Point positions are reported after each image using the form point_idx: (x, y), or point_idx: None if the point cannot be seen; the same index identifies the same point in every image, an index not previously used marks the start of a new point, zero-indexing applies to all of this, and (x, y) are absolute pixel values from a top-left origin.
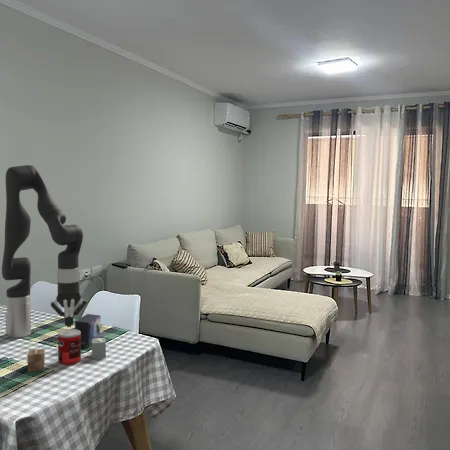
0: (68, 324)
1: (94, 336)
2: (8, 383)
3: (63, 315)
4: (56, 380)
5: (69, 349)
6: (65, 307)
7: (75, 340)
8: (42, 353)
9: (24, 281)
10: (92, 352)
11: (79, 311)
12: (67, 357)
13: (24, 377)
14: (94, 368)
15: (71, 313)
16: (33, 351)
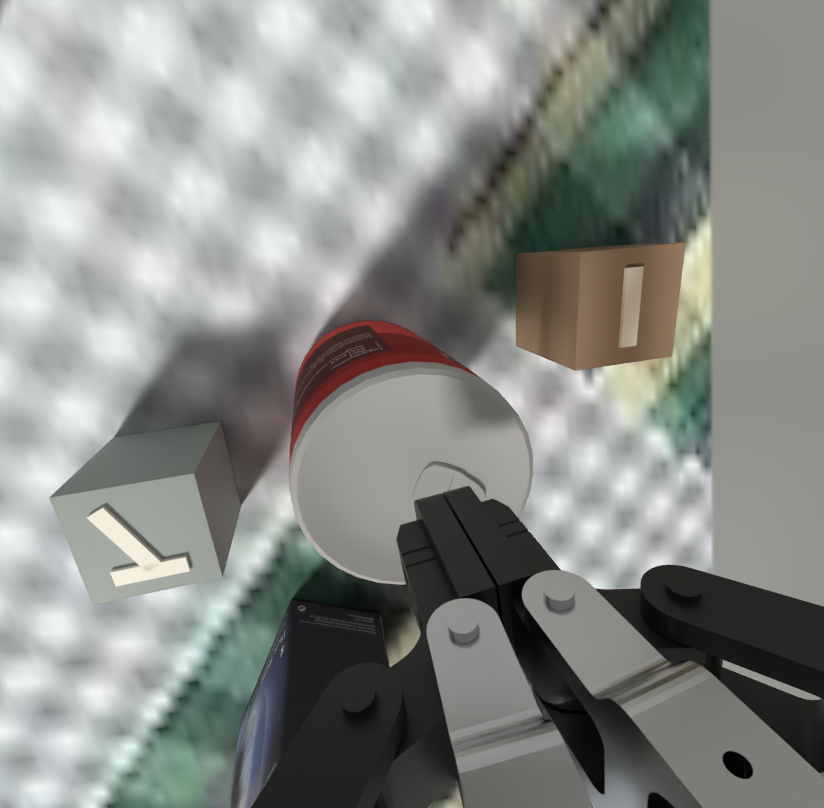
0: (460, 507)
1: (258, 701)
2: (691, 71)
3: (619, 603)
4: (407, 40)
5: (377, 337)
6: (775, 794)
7: (330, 377)
8: (584, 265)
9: None
10: (207, 439)
11: (286, 775)
12: (383, 327)
13: (611, 153)
14: (152, 231)
15: (481, 668)
16: (646, 320)
